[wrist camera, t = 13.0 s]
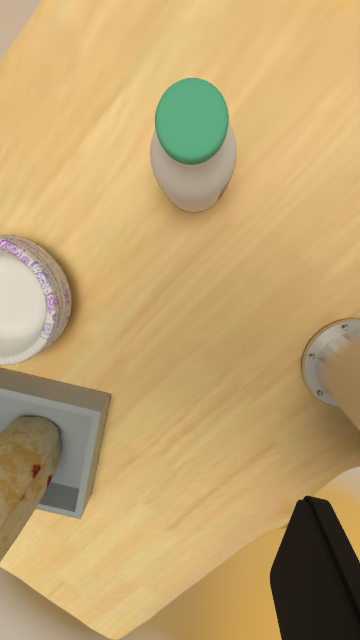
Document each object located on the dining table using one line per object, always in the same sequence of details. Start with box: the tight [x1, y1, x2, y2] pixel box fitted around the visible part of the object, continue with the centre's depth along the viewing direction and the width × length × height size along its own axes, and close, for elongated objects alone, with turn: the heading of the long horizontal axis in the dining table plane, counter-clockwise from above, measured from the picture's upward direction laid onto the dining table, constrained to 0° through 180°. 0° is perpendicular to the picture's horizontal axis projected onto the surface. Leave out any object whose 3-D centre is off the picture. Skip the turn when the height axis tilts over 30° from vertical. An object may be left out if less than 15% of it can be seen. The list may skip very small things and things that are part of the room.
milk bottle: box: [150, 78, 237, 212], centre depth 29 cm, size 8×8×20 cm
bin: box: [0, 368, 111, 519], centre depth 46 cm, size 18×18×5 cm
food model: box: [0, 417, 62, 561], centre depth 38 cm, size 10×7×20 cm
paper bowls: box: [0, 235, 71, 365], centre depth 39 cm, size 15×15×8 cm
